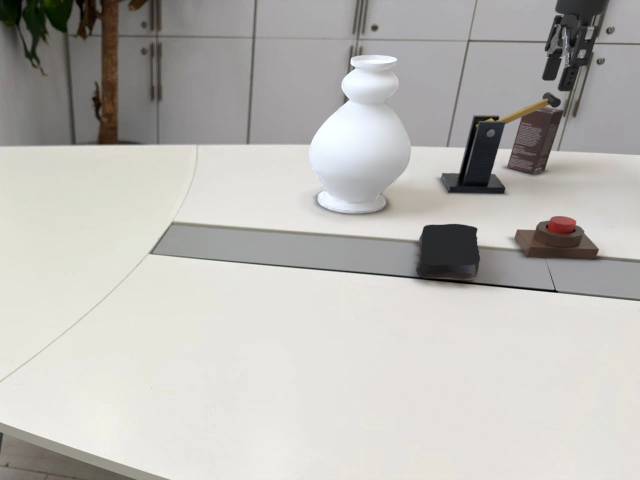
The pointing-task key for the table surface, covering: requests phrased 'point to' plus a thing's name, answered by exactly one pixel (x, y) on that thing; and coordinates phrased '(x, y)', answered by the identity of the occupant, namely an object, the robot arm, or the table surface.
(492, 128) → the switch bracket
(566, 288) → the table surface
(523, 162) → the box
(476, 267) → the black sponge
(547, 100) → the switch lever
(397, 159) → the decorative vase
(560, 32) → the robot arm
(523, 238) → the button block
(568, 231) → the red button
